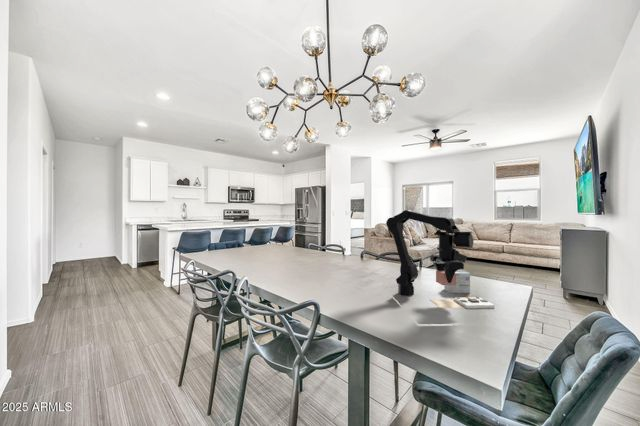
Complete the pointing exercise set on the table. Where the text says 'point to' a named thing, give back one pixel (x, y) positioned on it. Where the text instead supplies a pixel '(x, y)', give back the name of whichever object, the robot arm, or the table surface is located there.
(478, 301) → the dark grey block
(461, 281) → the light bulb box
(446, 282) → the pink block
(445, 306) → the pad
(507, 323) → the table surface
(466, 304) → the panel
